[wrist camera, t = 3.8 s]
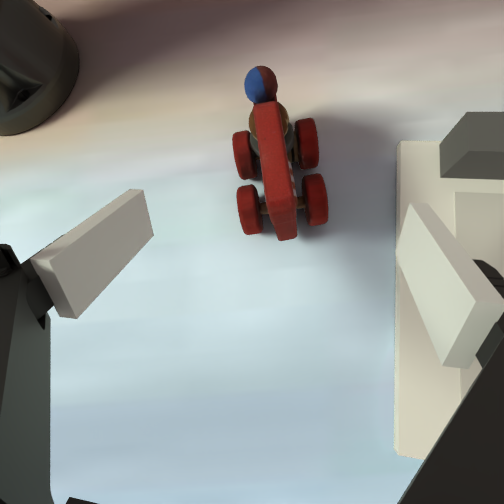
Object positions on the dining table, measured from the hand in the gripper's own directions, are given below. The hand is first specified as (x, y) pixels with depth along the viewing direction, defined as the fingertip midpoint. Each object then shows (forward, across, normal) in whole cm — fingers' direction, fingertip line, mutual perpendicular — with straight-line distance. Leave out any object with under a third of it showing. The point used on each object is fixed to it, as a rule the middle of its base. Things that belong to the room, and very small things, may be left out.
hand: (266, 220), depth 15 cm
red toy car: (+13, 0, -3) cm, 13 cm away
